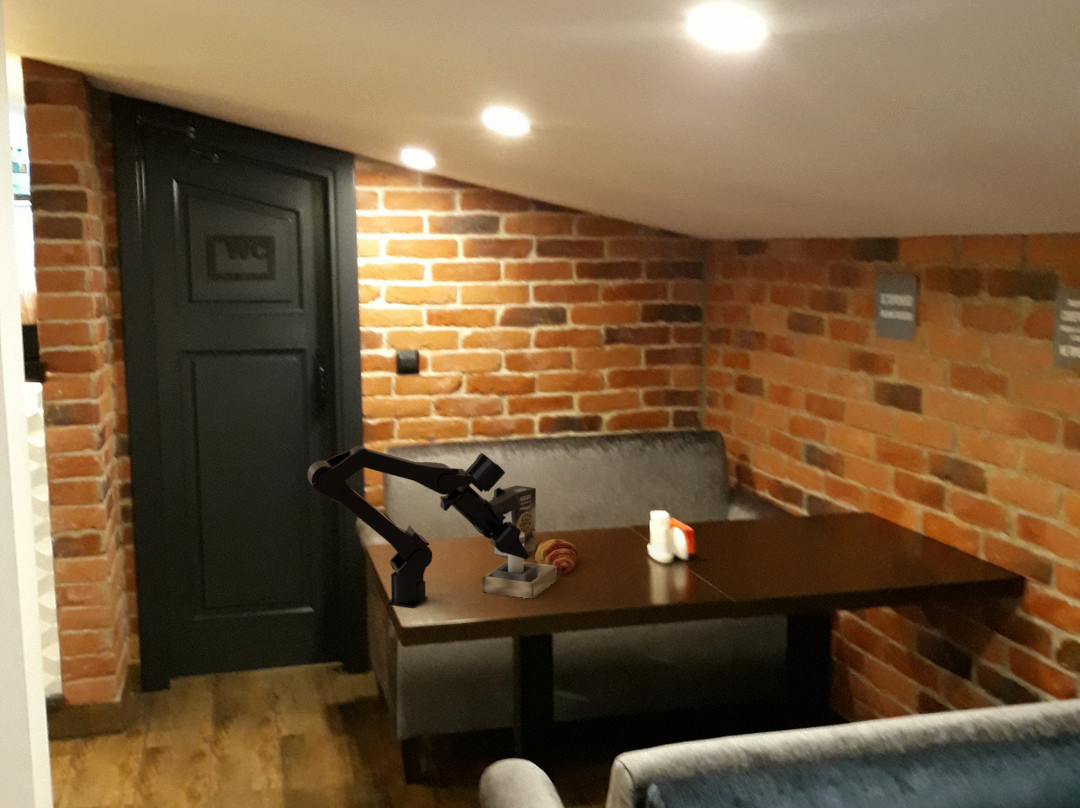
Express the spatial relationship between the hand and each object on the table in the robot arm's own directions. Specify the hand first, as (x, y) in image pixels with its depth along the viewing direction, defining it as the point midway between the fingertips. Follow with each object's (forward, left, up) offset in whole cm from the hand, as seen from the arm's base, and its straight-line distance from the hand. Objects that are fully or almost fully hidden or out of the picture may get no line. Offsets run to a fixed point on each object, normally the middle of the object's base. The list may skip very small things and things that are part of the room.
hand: (521, 552), depth 237 cm
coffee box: (-13, +26, -9) cm, 30 cm away
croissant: (0, +20, -9) cm, 22 cm away
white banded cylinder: (-1, -1, -8) cm, 8 cm away
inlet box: (-1, +2, -9) cm, 9 cm away
